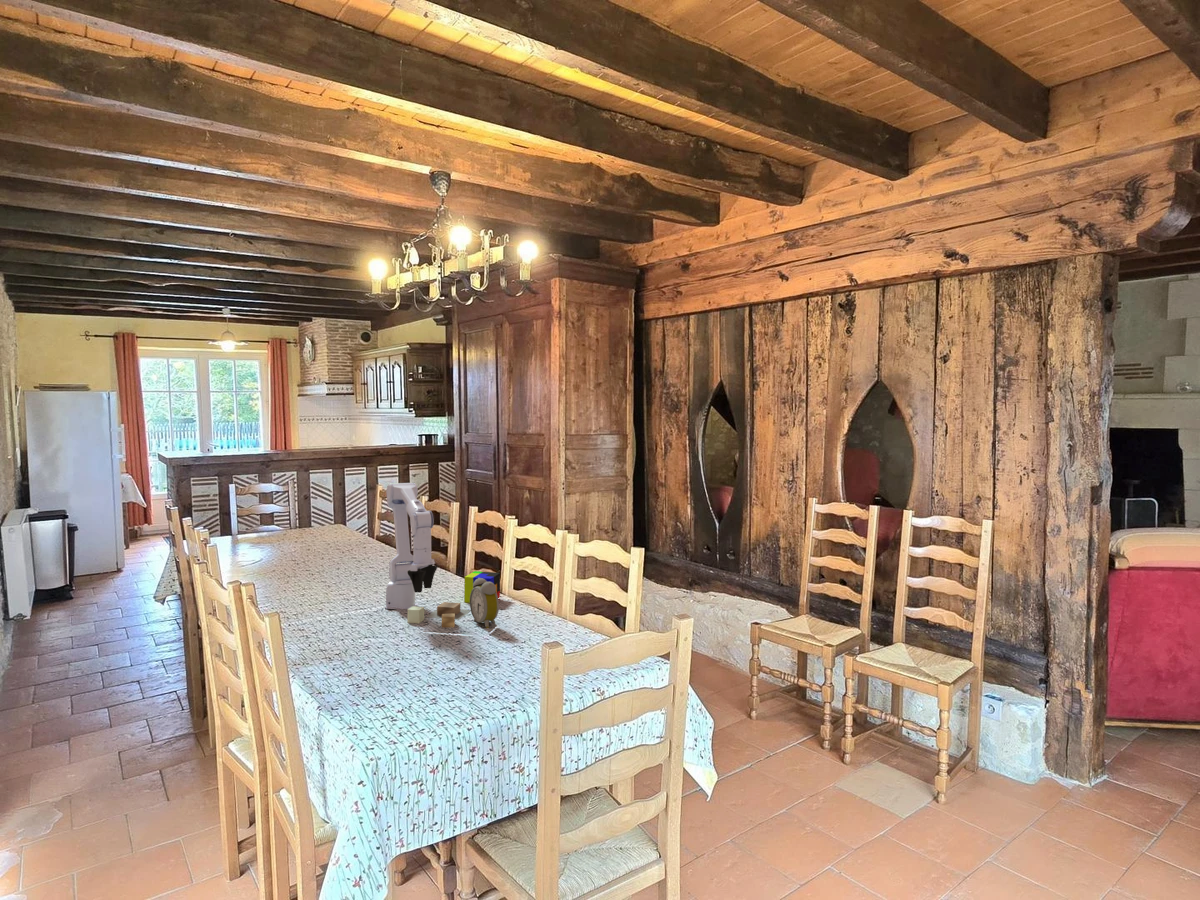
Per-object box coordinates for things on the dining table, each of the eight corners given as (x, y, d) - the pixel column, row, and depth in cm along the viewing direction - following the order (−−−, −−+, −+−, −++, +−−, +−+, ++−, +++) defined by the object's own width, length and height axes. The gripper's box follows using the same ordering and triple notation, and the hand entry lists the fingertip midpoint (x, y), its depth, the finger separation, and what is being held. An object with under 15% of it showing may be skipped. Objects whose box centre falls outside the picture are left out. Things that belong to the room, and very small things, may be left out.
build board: (424, 618, 237) (424, 617, 237) (439, 609, 248) (439, 607, 248) (459, 621, 235) (459, 619, 235) (471, 611, 246) (471, 610, 246)
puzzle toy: (490, 606, 254) (490, 578, 254) (464, 604, 256) (464, 576, 256) (499, 599, 264) (500, 572, 264) (474, 597, 266) (474, 571, 266)
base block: (437, 615, 239) (437, 606, 239) (443, 610, 245) (443, 602, 245) (453, 616, 238) (454, 607, 238) (460, 611, 244) (460, 603, 244)
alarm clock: (468, 622, 234) (469, 577, 233) (487, 619, 238) (488, 575, 237) (484, 631, 224) (485, 584, 224) (503, 628, 228) (504, 582, 227)
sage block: (407, 624, 230) (407, 609, 230) (412, 621, 234) (412, 606, 234) (418, 625, 230) (419, 610, 229) (424, 621, 233) (424, 607, 233)
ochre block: (441, 629, 226) (441, 617, 225) (442, 626, 229) (442, 613, 229) (454, 629, 226) (454, 616, 226) (454, 625, 230) (454, 613, 230)
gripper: (424, 551, 224) (425, 594, 223) (442, 545, 238) (443, 586, 238) (403, 551, 225) (404, 594, 224) (422, 545, 239) (423, 586, 239)
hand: (423, 590), depth 231 cm, fingers open, 7 cm apart
